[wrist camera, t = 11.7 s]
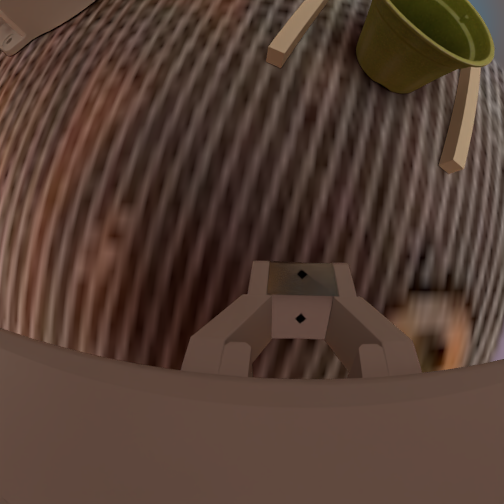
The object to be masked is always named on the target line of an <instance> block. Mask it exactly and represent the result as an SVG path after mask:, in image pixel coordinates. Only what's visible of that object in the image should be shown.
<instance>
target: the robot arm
mask: <svg viewBox="0 0 504 504" xmlns="http://www.w3.org/2000/svg"><path fill="white" fill-rule="evenodd" d="M94 1H95V0H0V50H2V51H3V52H4V53H5V54H7V55H8V56H11V55H13V54H15V53H16V52H18V51H19V50H20V49H21V48H23V47H24V46H25V45H26V44H28V43H29V42H30V41H31V40H32V39H34V38H36V37H37V36H39V35H41V34H43V33H46V32H48V31H50V30H52V29H54V28H55V27H57V26H59V25H61V24H62V23H64V22H66V21H67V20H69V19H70V18H72V17H74V16H75V15H77V14H78V13H79V12H81V11H82V10H84V9H85V8H86V7H88V6H89V5H90V4H91V3H93V2H94ZM271 338H301V339H325V341H326V343H327V344H328V345H329V347H330V348H331V349H332V351H333V352H334V353H335V355H336V356H337V357H338V359H339V360H340V361H341V363H342V364H343V365H344V366H345V368H346V369H347V370H348V372H349V375H348V377H347V379H279V378H257V377H253V370H252V363H253V362H254V361H255V359H256V358H257V357H258V356H259V354H260V353H261V352H262V351H263V349H264V348H265V347H266V346H267V345H268V343H269V342H270V341H271ZM0 504H504V359H502V360H498V361H493V362H488V363H483V364H478V365H472V366H467V367H461V368H455V369H448V370H441V371H434V372H426V373H422V371H421V367H420V364H419V360H418V357H417V354H416V350H415V347H414V344H413V341H412V340H411V339H410V338H409V337H408V336H406V335H405V334H404V333H403V332H402V331H401V330H400V329H398V328H397V327H396V326H395V325H394V324H393V323H391V322H390V321H389V320H388V319H387V318H386V317H384V316H383V315H382V314H381V313H380V312H379V311H377V310H376V309H375V308H374V307H373V306H372V305H370V304H369V303H368V302H367V301H366V300H365V299H363V298H362V297H357V295H356V291H355V287H354V283H353V279H352V275H351V271H350V267H349V264H348V263H301V262H280V261H270V262H269V261H253V263H252V269H251V275H250V281H249V287H248V294H242V295H241V296H240V297H239V298H238V299H236V300H235V301H234V302H233V303H232V304H230V305H229V306H228V307H227V308H226V309H224V310H223V311H222V312H221V313H219V314H218V315H217V316H216V317H215V318H213V319H212V320H211V321H210V322H208V323H207V324H206V325H205V326H204V327H202V328H201V329H200V330H199V331H197V332H196V333H195V334H194V335H193V336H191V338H190V341H189V344H188V347H187V351H186V354H185V357H184V360H183V364H182V367H181V370H174V369H167V368H161V367H154V366H148V365H142V364H137V363H131V362H126V361H121V360H116V359H111V358H106V357H101V356H97V355H92V354H88V353H84V352H80V351H76V350H72V349H68V348H64V347H60V346H57V345H53V344H49V343H46V342H42V341H39V340H36V339H32V338H29V337H26V336H23V335H20V334H17V333H14V332H11V331H8V330H5V329H2V328H0Z"/></svg>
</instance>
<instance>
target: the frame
mask: <svg viewBox="0 0 504 504" xmlns="http://www.w3.org/2000/svg"><path fill="white" fill-rule="evenodd" d="M328 1H329V0H305V1H304V2H303V3H302V4H301V6H300V7H299V8H298V9H297V10H296V12H295V13H294V14H293V15H292V17H291V18H290V19H289V20H288V22H287V23H286V24H285V26H284V27H283V28H282V29H281V31H280V32H279V33H278V35H277V36H276V37H275V39H274V40H273V41H272V42H271V44H270V45H269V47H268V52H267V59H266V62H267V63H270V64H272V65H274V66H277V67H279V68H281V67H282V66H283V64H284V63H285V61H286V60H287V58H288V57H289V56H290V54H291V53H292V51H293V50H294V48H295V47H296V45H297V44H298V42H299V41H300V40H301V38H302V37H303V35H304V34H305V33H306V31H307V30H308V28H309V27H310V26H311V24H312V23H313V21H314V20H315V19H316V17H317V16H318V15H319V13H320V12H321V11H322V9H323V8H324V6H325V5H326V4H327V3H328ZM480 70H481V67H468V68H463V69H461V70H460V76H459V82H458V88H457V93H456V98H455V103H454V107H453V112H452V116H451V121H450V125H449V129H448V133H447V137H446V140H445V144H444V148H443V151H442V155H441V158H440V162H439V165H438V166H440V167H441V168H442V169H443V170H445V171H446V172H447V173H448V174H450V173H453V172H456V171H459V170H462V169H464V166H465V162H466V158H467V153H468V149H469V144H470V139H471V134H472V129H473V124H474V118H475V112H476V105H477V98H478V90H479V81H480Z"/></svg>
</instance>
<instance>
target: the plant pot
mask: <svg viewBox="0 0 504 504" xmlns="http://www.w3.org/2000/svg"><path fill="white" fill-rule="evenodd" d="M356 55H357V59H358V62H359V64H360V66H361V67H362V69H363V70H364V72H365V73H366V74H367V75H368V76H369V77H370V78H371V79H372V80H373V81H375V82H377V83H380V84H381V85H383V86H385V87H386V88H388V89H389V90H390V91H392V92H396V93H410V92H412V91H414V90H416V89H418V88H420V87H422V86H424V85H426V84H428V83H430V82H432V81H434V80H435V79H437V78H439V77H441V76H444V75H446V74H448V73H450V72H452V71H454V70H456V69H463V68H468V67H483V66H486V65H487V64H489V63H490V62H491V61H492V60H493V57H494V43H493V40H492V37H491V34H490V32H489V30H488V28H487V26H486V24H485V22H484V21H483V19H482V18H481V16H480V15H479V13H478V12H477V11H476V9H475V8H474V7H473V6H472V5H471V3H470V2H469V1H468V0H372V3H371V6H370V9H369V12H368V15H367V18H366V20H365V23H364V26H363V29H362V32H361V34H360V37H359V40H358V43H357V47H356Z"/></svg>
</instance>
